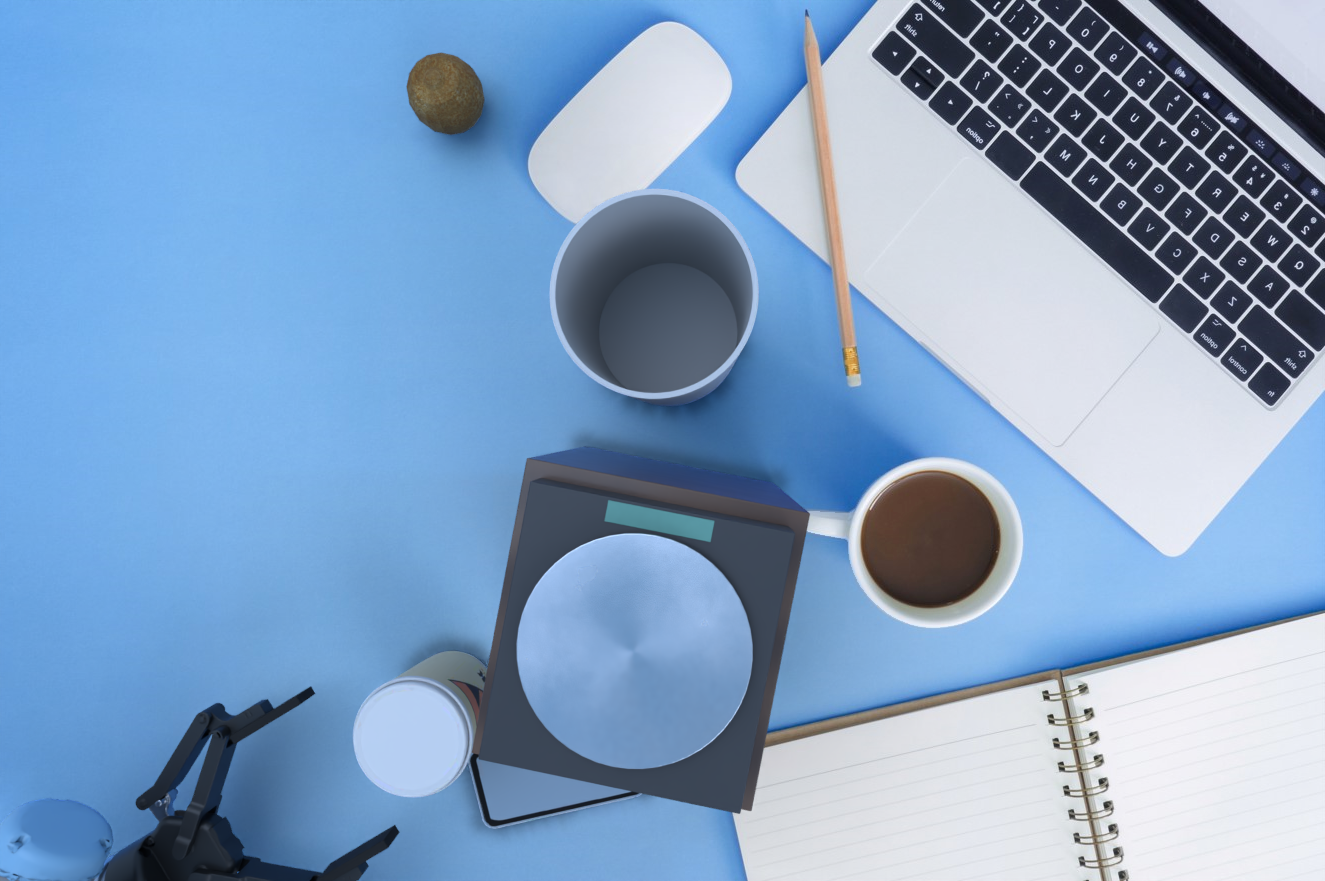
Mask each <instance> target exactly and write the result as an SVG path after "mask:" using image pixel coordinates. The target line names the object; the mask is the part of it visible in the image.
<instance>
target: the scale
mask: <svg viewBox="0 0 1325 881" xmlns="http://www.w3.org/2000/svg"><path fill="white" fill-rule="evenodd" d="M623 532H644V533H652V534H658V535H662V536H666V537H669V538H673V539H675V540H678V541H680V542H682V543H685V544H687V545H689V546H690V547H692V548H694V549H696V550H697V551H699V552H700V553H702V554H703V555H704V556H706V557H707V558H708V559H710V560H711V561H712V562H713V563H714V564H715V565H716V566H717V567H718V568H719V569H720V570H721V571H722V572H723V573H724V574H725V576H726V577H727V578H728V579H729V581H730V582H731V583H732V585H733V586H734V588H735V590H736V591H737V593H738V595H739V597H740V599H741V601H742V603H743V606H744V608H745V610H746V613H747V617H748V621H749V624H750V628H751V635H752V642H753V663H752V670H751V677H750V680H749V684H748V688H747V691H746V693H745V696H744V698H743V701H742V703H741V705H740V707H739V709H738V710H737V712H736V714H735V716H734V717H733V719H732V720H731V721H730V723H729V724H728V725H727V726H726V728H725V729H724V730H723V731H722V732H721V733H720V734H719V735H718V736H717V737H716V738H715V739H714V740H713V741H712V742H710V743H709V744H708V745H706V746H705V747H704V748H702V749H701V750H700V751H698V752H696V753H694V754H693V755H691V756H689V757H687V758H685V759H682V760H680V761H677V762H675V763H672V764H668V765H664V766H660V767H655V768H646V769H625V768H618V767H611V766H608V765H604V764H601V763H597V762H595V761H592V760H590V759H587V758H585V757H583V756H581V755H579V754H578V753H576V752H574V751H572V750H571V749H569V748H568V747H566V746H565V745H564V744H563V743H561V742H560V741H559V740H557V739H556V738H555V737H554V736H553V735H552V734H551V733H550V732H549V731H548V730H547V729H546V728H545V726H544V725H543V724H542V722H541V721H540V720H539V718H538V717H537V716H536V714H535V712H534V711H533V709H532V707H531V706H530V704H529V702H528V700H527V697H526V695H525V692H524V690H523V687H522V684H521V680H520V676H519V672H518V665H517V648H516V643H517V634H518V627H519V623H520V619H521V615H522V612H523V610H524V607H525V605H526V602H527V600H528V598H529V596H530V594H531V592H532V591H533V589H534V587H535V585H536V584H537V583H538V581H539V580H540V579H541V577H542V576H543V575H544V573H545V572H546V571H547V570H548V569H549V568H550V567H551V566H552V565H553V564H554V563H555V562H556V561H557V560H559V559H560V558H561V557H563V556H564V555H565V554H567V553H568V552H569V551H571V550H573V549H574V548H576V547H578V546H579V545H581V544H583V543H586V542H588V541H590V540H593V539H595V538H599V537H602V536H606V535H610V534H616V533H623ZM794 538H795V533H794V531H793V530H792V529H791V528H790V527H789V526H784V525H779V524H774V523H769V522H763V521H758V520H753V519H748V518H743V517H738V516H733V515H728V514H723V513H717V512H712V511H707V510H702V509H697V508H692V507H687V506H682V505H677V504H671V503H666V502H661V501H656V500H651V499H646V498H641V497H636V496H631V495H625V494H620V493H615V492H610V491H605V490H600V489H595V488H590V487H584V486H579V485H574V484H569V483H564V482H559V481H554V480H549V479H544V478H539V479H536V480H533V481H531V482H530V486H529V491H528V496H527V502H526V507H525V512H524V518H523V523H522V528H521V534H520V539H519V544H518V550H517V555H516V560H515V566H514V571H513V576H512V582H511V587H510V592H509V598H508V603H507V608H506V614H505V619H504V624H503V630H502V635H501V640H500V646H499V651H498V656H497V662H496V667H495V672H494V678H493V683H492V688H491V694H490V699H489V704H488V710H487V715H486V720H485V726H484V731H483V736H482V742H481V747H480V752H479V760H484V761H489V762H493V763H498V764H503V765H508V766H512V767H517V768H522V769H527V770H532V771H536V772H541V773H546V774H551V775H555V776H560V777H565V778H570V779H575V780H579V781H584V782H589V783H594V784H599V785H603V786H608V787H613V788H618V789H622V790H627V791H632V792H637V793H642V794H641V795H647V796H651V797H656V798H657V797H658V798H661V799H666V800H670V801H676V802H679V803H680V802H681V803H686V804H691V805H694V806H699V807H704V808H709V809H715V810H719V811H723V812H728V813H733V814H737V815H740V814H741V812H742V809H741V808H742V803H743V798H744V793H745V788H746V782H747V777H748V772H749V767H750V762H751V757H752V752H753V747H754V742H755V737H756V732H757V726H758V721H759V716H760V711H761V706H762V701H763V696H764V691H765V686H766V681H767V676H768V671H769V665H770V660H771V655H772V650H773V645H774V640H775V635H776V630H777V625H778V620H779V615H780V609H781V604H782V599H783V594H784V589H785V584H786V579H787V574H788V569H789V564H790V559H791V554H792V548H793V543H794Z"/></svg>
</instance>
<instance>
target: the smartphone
mask: <svg viewBox="0 0 1325 881" xmlns="http://www.w3.org/2000/svg"><path fill="white" fill-rule="evenodd" d="M467 765H468V767H469V768H468V769H469V772H470V776H471V780H472V785H473V789H474V792H475V797H476V800H477V804H478V808H479V811H480V816H481V820H482V823H483V824H484V826H486V827H487V828H489V829H493V830H495V829H500V828H505V827H509V826H514V825H518V824H522V823H527V822H531V821H536V820H540V819H541V820H542V819H545V818H550V817H553V816H559V815H562V814H567V813H571V812H576V811H581V810H585V809H590V808H594V807H599V806H602V805H603V806H604V805H607V804H612V803H617V802H620V801H625V800H630V799H634V798H638V797H640V796H641V795H643V794H642V793H637V792H632V791H627V790H622V789H618V788H613V787H608V786H603V785H599V784H594V783H589V782H584V781H579V780H575V779H570V778H565V777H560V776H555V775H551V774H546V773H541V772H536V771H532V770H527V769H522V768H517V767H512V766H508V765H503V764H498V763H493V762H489V761H484V760H479V754H474V753H472V752H471V756H470V758H469V761H468V763H467Z"/></svg>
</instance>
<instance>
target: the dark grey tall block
mask: <svg viewBox="0 0 1325 881" xmlns="http://www.w3.org/2000/svg"><path fill="white" fill-rule="evenodd" d="M523 470H524V471H523V476H522V482H521V487H520V492H519V498H518V503H517V508H516V513H515V519H514V524H513V530H512V534H511V539H510V545H509V550H508V556H507V562H506V567H505V573H504V577H503V583H502V589H501V594H500V599H499V605H498V608H497V614H496V619H495V620H496V622H495V626H494V631H493V635H492V641H491V646H490V652H489V657H488V658H489V659H488V663H487V673H486V679H485V684H484V689H483V695H482V700H481V705H480V711H479V716H478V721H477V727H476V732H475V737H474V743H473V748H472V753H474V754H479V752H480V747H481V742H482V736H483V731H484V726H485V720H486V715H487V710H488V704H489V699H490V694H491V688H492V683H493V678H494V672H495V667H496V662H497V656H498V651H499V646H500V640H501V635H502V630H503V624H504V619H505V614H506V608H507V603H508V598H509V592H510V587H511V582H512V576H513V571H514V566H515V560H516V555H517V550H518V544H519V539H520V534H521V528H522V523H523V518H524V512H525V507H526V502H527V496H528V491H529V486H530V482H531V481H533V480H536V479H539V478H544V479H549V480H554V481H559V482H564V483H569V484H574V485H579V486H584V487H590V488H595V489H600V490H605V491H610V492H615V493H620V494H625V495H631V496H636V497H641V498H646V499H651V500H656V501H661V502H666V503H671V504H677V505H682V506H687V507H692V508H697V509H702V510H707V511H712V512H717V513H723V514H728V515H733V516H738V517H743V518H748V519H753V520H758V521H763V522H769V523H774V524H779V525H784V526H789V527H790V528H791V529H792V530H793V531H794V533H795V538H794V543H793V548H792V554H791V559H790V564H789V569H788V574H787V579H786V584H785V589H784V594H783V599H782V604H781V609H780V615H779V620H778V625H777V630H776V635H775V640H774V645H773V650H772V655H771V660H770V665H769V671H768V676H767V681H766V686H765V691H764V696H763V701H762V706H761V711H760V716H759V721H758V726H757V732H756V737H755V742H754V747H753V752H752V757H751V762H750V767H749V772H748V777H747V782H746V788H745V793H744V798H743V803H742V808H741V811H742V810H743V811H747V812H752V810H753V805H754V800H755V797H756V796H755V795H756V790H757V785H758V780H759V775H760V771H761V767H762V766H761V765H762V761H763V755H764V750H765V744H766V739H767V735H768V729H769V725H770V721H771V720H770V719H771V715H772V710H773V703H774V699H775V693H776V689H777V685H778V679H779V673H780V668H781V664H782V658H783V654H784V648H785V643H786V638H787V634H788V627H789V623H790V618H791V613H792V607H793V603H794V597H795V592H796V588H797V583H798V577H799V572H800V568H801V562H802V557H803V552H804V547H805V542H806V536H807V531H808V526H809V521H810V517H811V513H810V512H809V511H808V510H807V509H805V508H804V507H803V506H802V505H800V503H798V502H797V501H796V500H795V499H793V498H792V497H791V496H790V495H788V494H787V493H786V492H785V491H784V490H783V489H782V488H780V487H779V486H778V485H777V484H776V483H774V482H772V481H767V480H761V479H756V478H752V477H747V476H742V475H736V474H731V473H726V472H721V471H715V470H711V469H705V468H701V467H695V466H691V465H685V464H679V463H675V462H669V461H664V460H658V459H653V458H649V457H643V456H637V455H633V454H627V453H622V452H617V451H613V450H606V449H601V448H598V447H597V448H596V447H591V446H587V445H586V446H579V447H575V448H570V449H565V450H560V451H555V452H551V453H550V452H549V453H546V454H540V455H535V456H531V457H527V458H526V460H525V465H524V469H523Z"/></svg>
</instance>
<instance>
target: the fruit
mask: <svg viewBox="0 0 1325 881" xmlns="http://www.w3.org/2000/svg"><path fill="white" fill-rule="evenodd" d="M481 81H482V80H481V79H480V78H479V76H478V75H477V73H476V72H475V70H474V68H473V67H472V66H471V65H470V64H469V63H467V62H466V61H465V60H463V59H462V58H460V57H459V56H457V55H454V54H450V53H445V52H436V53H431V54H430V53H429V54H427V55H425V56H423V57H422V58H420V59H418V60H417V61H416V62H415V63H414V65H413V67H412V68H411V70H410V71H409V73H408V78H407V83H406V86H405V87H406V93H407V98H408V104H409V106H410V108H411V109H412V111H413V113H414V114H415V116H416V117H417V119H418V121H419V122H421V123H422V124H423V125H424V126H426V127H428V128H429V129H430V130H431V131H433V132H434V133H439V134H444V135H448V136H454V135H459V134H464V133H466V132H467V131H469V130H470V129H472V128H473V127H475V125H476V124H477V123H478V121H479V120H480V118H481V117H482V115H483V110H484V107H485V101H486V100H485V93H484V87H483V84H482V82H481Z"/></svg>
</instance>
